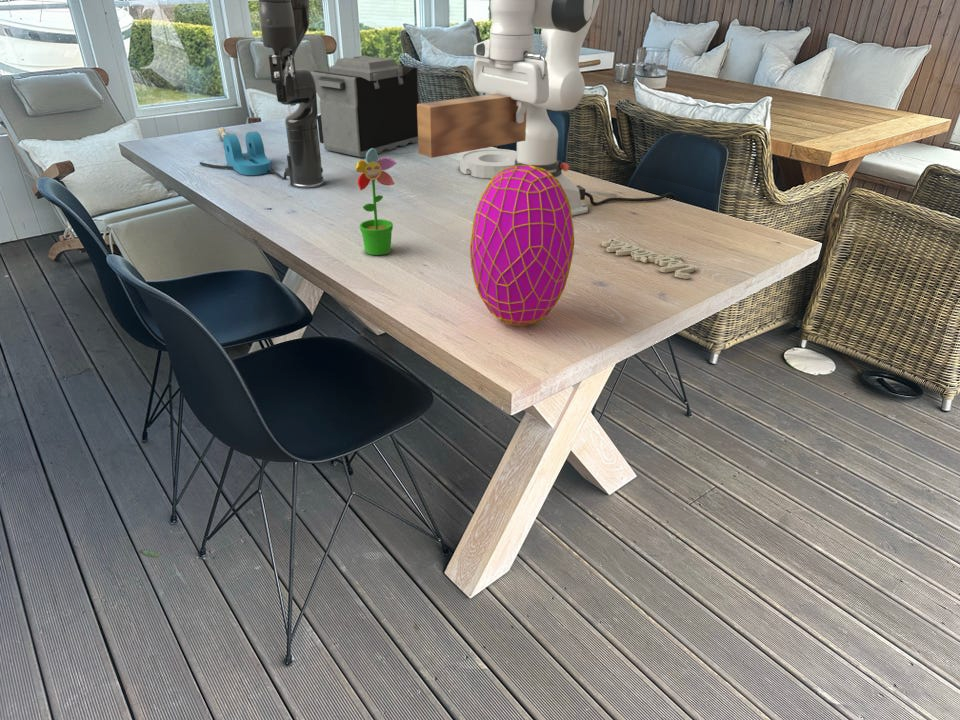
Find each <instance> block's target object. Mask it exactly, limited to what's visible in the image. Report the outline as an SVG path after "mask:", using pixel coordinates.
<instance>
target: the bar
mask: <svg viewBox="0 0 960 720" xmlns="http://www.w3.org/2000/svg"><path fill="white" fill-rule="evenodd" d="M518 107H519V106H517V100H513V99H511V97H510V96H506V95H501V94H484V95H475V96H469V97H461V98H460V97H459V98H452V99H445V100H437V101H429V102H423V103H421V102H420V104H417V118H418V142H417V143H418V154H419V155H423V156H425V157H428V158H431V159H433V158H439V157H444V156H449V155H455V154H460V153H461V154H462V153H465V152H468V151H472V150H478V149H489V148H492V147H499V146H505V145H510V144H514V143H517V142H521V141H525V138H526V114H527V110H526V112H525V114H524V122H523V123H516V122H514V121H513V114H514V113H516V112H517V109H518Z"/></svg>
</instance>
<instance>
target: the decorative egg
mask: <svg viewBox="0 0 960 720" xmlns="http://www.w3.org/2000/svg"><path fill="white" fill-rule="evenodd" d="M573 221H574V220H573V216H572V213H571V207H570V204H569V201H568V198H567V195H566V193H565V191H564V189H563V188H562V186H561V184H560V182H559V181H558V180H557V179H556V178H555V177H554V176H553V175H552V174H551V173H550V172H549V171H547V170H545V169H542V168H539V167H536V166H532V165H516V166H513V167H509V168H506V169H503V170H501V171H500V172H499V173H497V174H496V175H495V176H494V177H493V178H492V179H491V178H490V181H489V182H488V184H487V186H486V187H485V189H484V191H483V192H482V194H481V196H480V199H479V202H478V205H477V206H476V209H475V212H474V217H473V222H472V229H471V236H470V245H469V251H470V252H469V253H470V255H469V256H470V267H471V272H472V276H473V280H474V284H475V287H476V290H477V292H478V294H479V298H480V299H481V300H482V302H483V303H484V305H485V307H486V308H487V310H488V312H489V313H490V314H491V315H492V316H494V317H495V318H496V319H498V320H500V321H501V322H503V323H505V324H508V325H512V326H528V325H532V324H535V323H538V322H539V321H542V319H544V318H546V317H547V316H548V315H549V314H550V313H551V311H552V310H553V309H554V307H555V306H556V304H557V303H558V301H559V300H560V298H561V297H562V294H563V292H564V290H565V288H566V286H567V282H568V278H569V274H570V271H571V265H572V261H573V256H574V250H575V242H576V241H575V229H574V222H573Z"/></svg>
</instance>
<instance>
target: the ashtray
mask: <svg viewBox="0 0 960 720" xmlns="http://www.w3.org/2000/svg"><path fill="white" fill-rule="evenodd" d="M516 157H517V150H513V149H505V148H483V149H477V150H472V151H466V152H462V153H461V154H460V156H459V171H460V173H462V174H464V175H470V176H472V177H475V178H479V179H480V178H481V179H490V180H491V179H492V178H493V177H494V176H495V175H496V174H497V173H499V172H500V171H501V170H503V169H506V168H509V167H513V166H515V159H516Z"/></svg>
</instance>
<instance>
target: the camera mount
mask: <svg viewBox="0 0 960 720" xmlns="http://www.w3.org/2000/svg"><path fill="white" fill-rule="evenodd" d="M222 143H223V149H224V150H223V151H224V156H225V161H226V166H233V169H232V170H234V171H236V172H237V173H238V174H239V175H244V176H260V175H265V174H268V173H269V172H268V170H272V164H271V159H270V158H268V157H267V156H266V153H265V145H264V141H263V139H262V136H261V134H260V132H258V131H247V132H246V133H245V146H246V152H243V151H242V150H243V149H242V146H241V142H240V140H239V138H238V135H236V134H235V133H231V134H228V135H224V137H223V141H222Z"/></svg>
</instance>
